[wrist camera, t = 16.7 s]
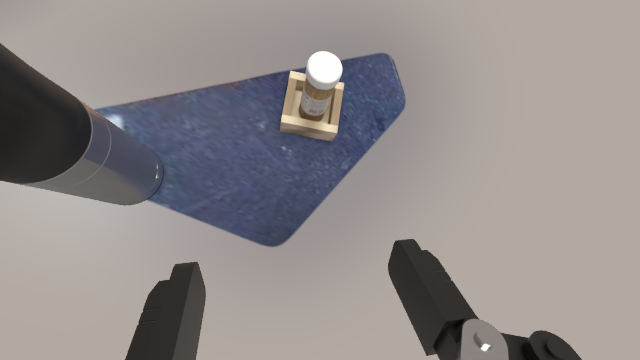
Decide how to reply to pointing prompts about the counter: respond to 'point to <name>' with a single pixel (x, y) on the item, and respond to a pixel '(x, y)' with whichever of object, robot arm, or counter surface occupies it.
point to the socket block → (305, 127)
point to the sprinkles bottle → (319, 85)
